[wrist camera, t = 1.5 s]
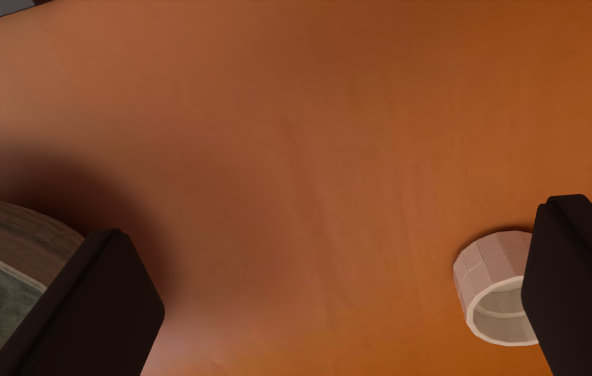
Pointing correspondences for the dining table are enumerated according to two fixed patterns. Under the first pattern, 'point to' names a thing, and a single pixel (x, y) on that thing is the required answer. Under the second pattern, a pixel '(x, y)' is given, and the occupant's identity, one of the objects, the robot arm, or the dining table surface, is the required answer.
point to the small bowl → (495, 288)
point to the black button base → (18, 5)
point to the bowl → (29, 260)
